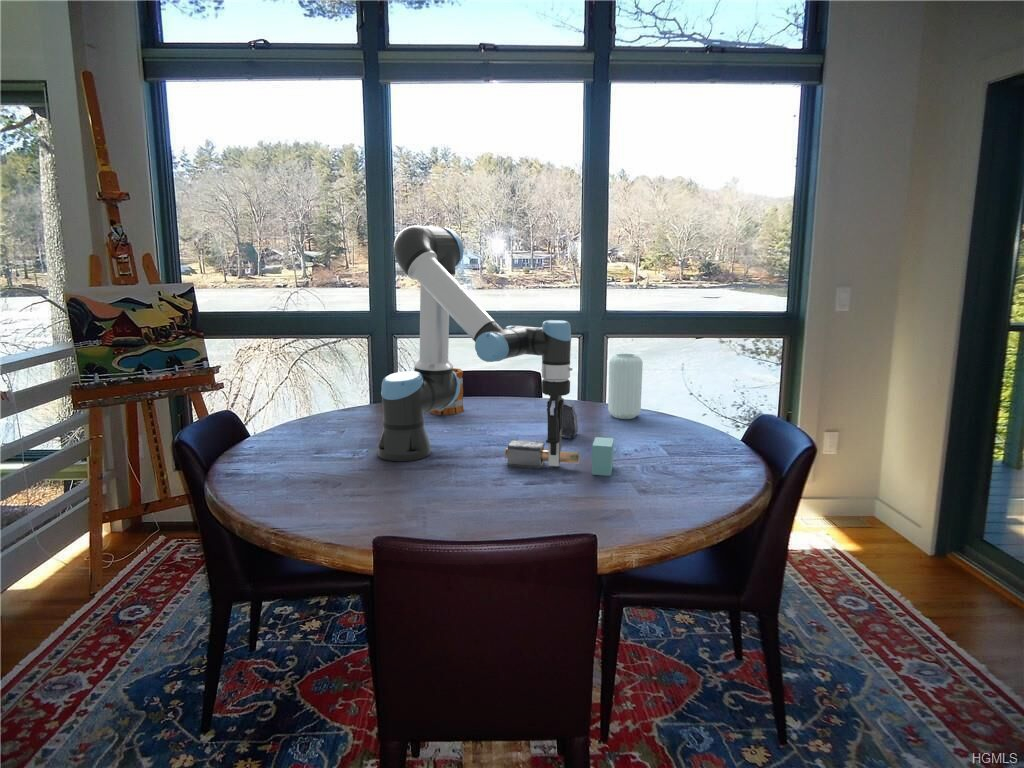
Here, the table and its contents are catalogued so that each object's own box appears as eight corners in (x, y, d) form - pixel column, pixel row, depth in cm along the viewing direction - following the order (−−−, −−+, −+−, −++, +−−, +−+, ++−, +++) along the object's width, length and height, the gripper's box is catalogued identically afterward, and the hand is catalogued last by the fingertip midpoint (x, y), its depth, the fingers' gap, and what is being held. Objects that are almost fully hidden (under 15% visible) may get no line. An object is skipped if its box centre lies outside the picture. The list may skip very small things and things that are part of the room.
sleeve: (507, 467, 178) (507, 445, 177) (512, 460, 184) (512, 439, 182) (540, 469, 176) (540, 448, 175) (543, 462, 182) (544, 441, 181)
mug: (432, 406, 249) (431, 367, 246) (467, 407, 247) (466, 368, 244) (419, 418, 230) (418, 377, 227) (457, 420, 228) (456, 377, 225)
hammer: (505, 460, 179) (505, 428, 177) (507, 456, 182) (507, 425, 180) (577, 465, 175) (578, 433, 173) (579, 461, 178) (579, 430, 176)
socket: (591, 474, 172) (592, 445, 170) (594, 465, 180) (595, 437, 178) (610, 475, 171) (611, 446, 169) (612, 466, 179) (613, 438, 177)
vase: (616, 411, 241) (618, 351, 237) (645, 415, 234) (648, 354, 230) (602, 417, 232) (603, 355, 228) (631, 422, 225) (634, 358, 221)
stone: (568, 446, 203) (540, 433, 207) (577, 443, 212) (550, 431, 216) (582, 411, 202) (554, 398, 205) (590, 410, 211) (563, 398, 214)
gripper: (565, 385, 165) (564, 474, 169) (573, 374, 180) (572, 455, 185) (536, 384, 166) (535, 471, 171) (547, 373, 182) (546, 453, 187)
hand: (554, 463), depth 178 cm, fingers closed on hammer, 3 cm apart
